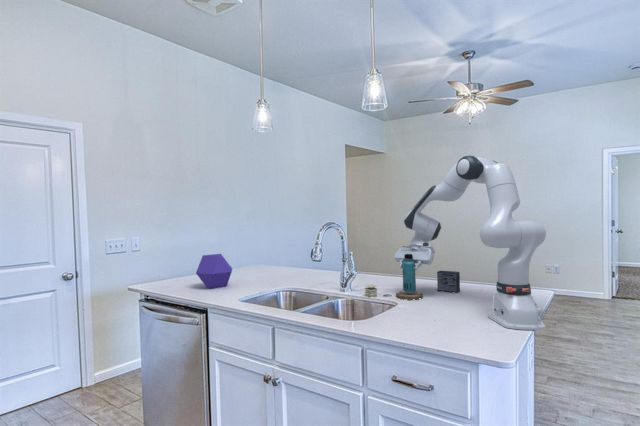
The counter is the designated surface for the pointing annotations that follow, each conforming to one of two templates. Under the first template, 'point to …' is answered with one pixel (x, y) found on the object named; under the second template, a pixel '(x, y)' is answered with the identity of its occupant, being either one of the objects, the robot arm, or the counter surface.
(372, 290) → the stacked layers on plate
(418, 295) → the gear plate
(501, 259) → the robot arm
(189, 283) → the counter surface
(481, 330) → the counter surface
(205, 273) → the purple faceted block
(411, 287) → the beverage bottle
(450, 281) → the small box
